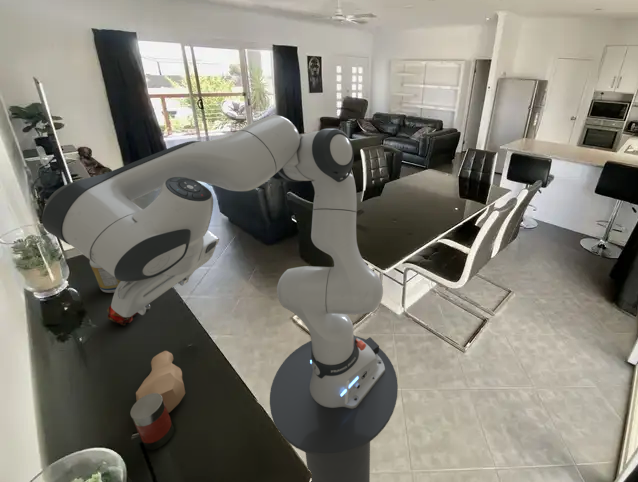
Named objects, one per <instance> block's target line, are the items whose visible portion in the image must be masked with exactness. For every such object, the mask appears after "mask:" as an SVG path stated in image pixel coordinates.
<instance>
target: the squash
mask: <svg viewBox="0 0 638 482" xmlns="http://www.w3.org/2000/svg"><path fill="white" fill-rule="evenodd" d="M173 361H174V355H173V353H172V352H170V351H168V350H163V351H161V352H159V353H158V354H156V355H155V356H153V357H152V359H151V361H150V367H151V371H150V373H149V375H148V376H146V378H145V379H144V380H143V381H142V383H141V384H140V386H139V388H138V389H137V390H136V392H135V398H136V402H137V401H138V400H139V399H140V398H142V397H144V396H146V395H148V394H151V393H158V394H160V395H161V396H162V398H163V401H164V403H165V406H166V408H167V411H168V413H171V412H172V411H173V410H174V409H175V408H176V407H177V406H178V405H179V404H180V403H181V401H182V400H183V398H184V397H185V396H186V395H185V394H186V390H185V384H184V380H183V371H182V369H181V368H180V367H179V366H177V365H176V364H174V363H173Z"/></svg>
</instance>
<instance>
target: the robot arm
mask: <svg viewBox="0 0 638 482" xmlns="http://www.w3.org/2000/svg"><path fill="white" fill-rule="evenodd" d="M354 151H355V150H354V146H353V143H352V140H351V139H350V138H349V136H348V135H347V133H346V132H344V131H343V130H342V129H338V128H322V129H320V130H315V131H310V132H307V133H303V134H300V133H299V131H298V129H297V127H296V126H295V124H293V122H292V121H290V119H288V118H287V117H285V116H282V115H276V114H275V115H274V114H273V115H270V116H269V115H268V116H266V117H264V118H263V117H262V118H261V119H258V120H255V121H253V122H252V123H249V124H248V125H246V126H244V127H241V128H240V129H238V130H237V131H235V132H233V133H231V134H229V135H226V136H224V137H220V138H216V139H211V140H210V139H209V140H202V141H201V140H189V141H186V142H185V141H184V142H182V143H179V144H176V145H174V146H171V147H168V148H166V149H163V150H161V151H157V152H156V153H152V154H151V155H148V156H145V157H143V158H141V159H138V160H136V161H133V162H131V163H129V164H126V165H123V166H121V167H118V168H116V169H113V170H111V171H107V172H104V173H102V174H98V175H93V176H90V177H85V178H82V179H78V180H75V181H72V182H69V183H67V184H64V185H63V186H60V187H59V188H58V189H56V190H55V191H54V192H53V193H52V194H51V195H49V197H48V199H47V201H46V203H45V205H44V207H43V211H42V216H41V219H42V220H41V221H42V226H43V228H44V230H45V231H46V232H47V233H48V234H50V235H52V236H54V237H55V238H57V239H59V240H60V241H62V242H64V243H65V244H67V245H69V246H71V247H73V249H75V250H76V251H78V252H79V253H80V254H81V255H83V256H85V258H87V259H88V260H89V261H90V260H91V261H92V262H94V263H96V264H98V265H99V266H100V267H101V268H103V269H104V270H105V271H107V272H108V273H109V274H111V275H112V276H114V277H115V278H116V279H118V280H119V281H121V282H120V283H119V284H118V286H117V288H116V290H115V292H114V293H113V296H112V300H111V304H110V306H111V308H112V309H113V310H114V311H115V312H116V313H118V314H119V315H121V316H123V317H131V316H132V315H134V314H135V313H137V312H138V313H139V314H138V315H141V316H144V315H145V314H147V313H148V312H149V311H150V310H151V305H150V304H151V303H152V302H154V301H155V300H156V299H158V298H159V297H160V296H162V295H163V294H165V293H166V292H167V291H169V290H170V289H172V288H173V287H174V286H176V285H177V284H178V285H180V286H184V285H185V284H187V283H188V282H189V281H190V278H191V277H192V275H193V274H194V273H195V272H196V270H198V269H200V268H201V267H202V266H204V265H205V264H207V263H208V262H209V261H211V258H212V257H213V255H214V253H215V251H216V248H217V245H218V244H219V243H220V238H219V237H218V236H217V235H216V234H214V232H212V231H211V230H209V227H210V224H211V219H212V215H213V211H214V196H213V193H212V191H211V190H210V189H209V188H208V187H206V186H205V185H203V184H202V183H205V184H209V185H212V186H215V187H219V188H222V189H223V190H226V191H232V192H249V191H252V190H255V189H257V188H259V187H261V186H262V185H264V184H265V183H267V182H268V181H269V180H270V179H272V178H273V177H274V176H275V175H276V174H278V175H279V176H280V177H281V178H283V179H284V180H286V181H289V182H295V183H301V182H309V181H311V184H312V187H313V190H314V197H313V205H312V216H311V230H310V231H311V233H310V238H311V239H310V240H311V242H312V244H313V245H314V247H315V248H317V249H319V250H320V251H322V252H323V253H325V254H327V255H329V256H330V257H331V258H332V261H333V266H314V265H313V266H312V265H304V266H297V267H291V268H288V269H286V270H285V271H284V272H282V275H281V276H280V278H279V279H278V282H277V285H276V296H277V299H278V301H279V303H280V305H281V306H282V308H284V309H286V310H288V311H289V312H292V313H293V314H294V315H295V316H296V317H298V318H299V320H301V321H302V323H303V324H304V325H305V327H306V328H307V329H308V332H309V335H310V336H309V337H310V341H311V342H312V348H311V359H312V360H310V363H312V367H313V373H312V378H311V381H310V393H311V395H312V397H313V399H314V400H315V401H316V402H317V403H319V404H320V405H322V406H325V407H329V408H336V407H346V408H351V409H354V408H356V407H357V406H358V405H359V403H360V402H361V401H362V400H363V398H364V397H365V396H366V395H367V393H368V392H369V391H370V390H371V388H372V387H373V386H374V385H375V383H376V382H377V381H378V380H379V378H380V377H381V376H382V375H383V373H384V372H385V367H384V363H383V361H382V360H381V358H380V357H379V356H378V355H377V353H378V352H379V348H380V345H379V344H378V343H377V342H376V341H375V340H374V339H373V338H372V336H371V337H370V336H369V337H367V338H366V340H365V341H362V340H360V339H358V338H356V337H355V336H356V335H354V324H353V322H352V320H351V317H350V316H349V315H353V316H354V315H355V316H356V315H363V314H369V313H374V312H375V311H376V310H377V309H378V307H379V306H380V304H381V302H382V301H383V296H384V286H383V282H382V280H381V278H380V276H379V275H378V274H377V273H376V272H375V271H374V270H372V269H371V268H370V267H369V265H368V264H367V263H366V262H365V260H364V258H363V257H362V255H361V253H360V249H359V246H358V241H357V213H358V212H357V210H358V197H357V187H356V180H355V177H354V175H353V174H352V170H353V165H354V164H353V163H354V161H355V160H354V157H355V153H354ZM156 190H159V192H158V194H157V196H156V197H155V199H153V201H151V203H149V204H148V205H147V206H146V207H144V208H142V207H140V206H139V205H137V204H136V203H135V202H134V201H135V200H137V199H139V198H141V197H144V196H146V195H148V194H150V193H152V192H154V191H156ZM379 363H381V364H379ZM355 399H357V400H356V401H355Z"/></svg>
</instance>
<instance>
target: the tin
mask: <svg viewBox="0 0 638 482" xmlns="http://www.w3.org/2000/svg"><path fill="white" fill-rule="evenodd" d="M130 417H131V419H132V422H133V424H134V426H135V429H136V431H137V433H138V435H139V436H138V437H139V438H140V440H141V442H142V444H143V445H144V448H145V449H147V450H149V451H153V450H157V449H159V448H162V447H163V446H164V445H166V444H167V443H168V442H169V440H171V438H172V436H173V434H174V429H175V428H174V425H173V423H172V419H171V415H170V414H169V413H168V411H167V408H166V406H165V403H164V401H163V398H162V396H161V395H160V394H158V393H151V394H148V395H146V396H144V397H142V398H140V399H139V400H138V401H137V400H136V402H134V404H133V405H132V407H131V409H130Z"/></svg>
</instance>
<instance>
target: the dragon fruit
mask: <svg viewBox="0 0 638 482" xmlns="http://www.w3.org/2000/svg"><path fill="white" fill-rule="evenodd" d="M106 311H107V319H108V320H111V321H112V322H113V323H117V324H119V325H121V326H126V325H127V324H126V323H128V324H129V323H131V322H133V321H134V317H135V316H136V315H140V314H139V313H138V312H137V313H135V314H134V315H132V316H131V317H123V316H121V315H119V314H118V313H116V312H115V311H114V310H113V309H112V308H111V305H109V307H108V308H107V309H106Z"/></svg>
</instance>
